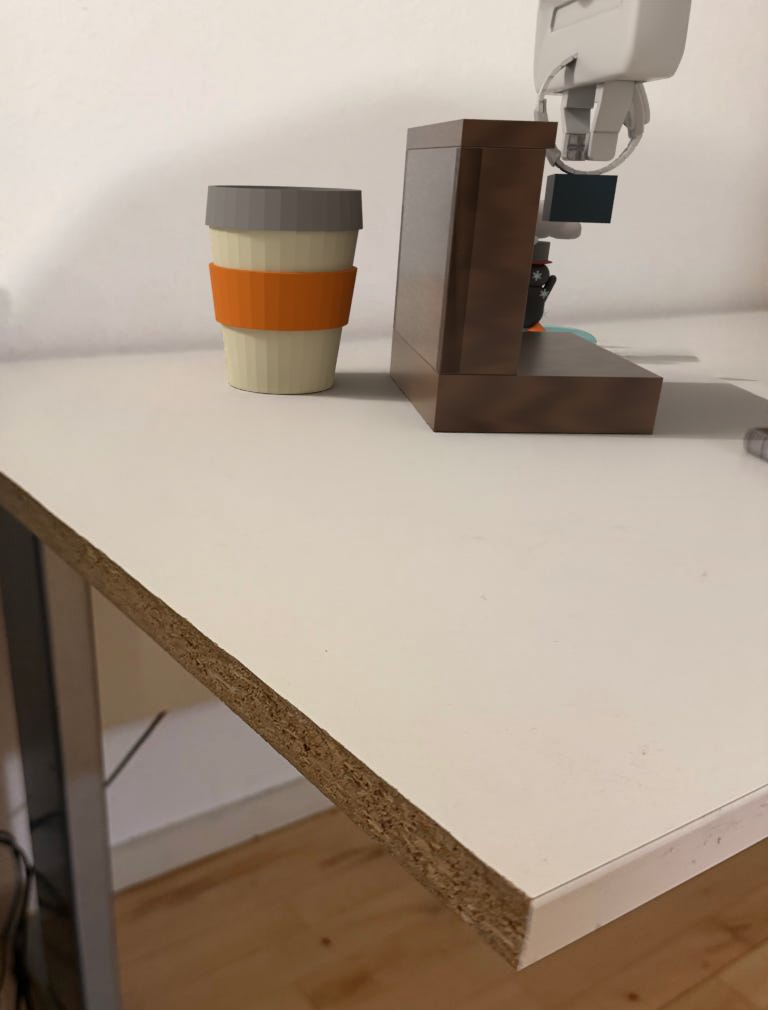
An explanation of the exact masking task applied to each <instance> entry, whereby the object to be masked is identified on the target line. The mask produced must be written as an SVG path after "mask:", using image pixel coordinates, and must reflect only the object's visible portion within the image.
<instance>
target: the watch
mask: <svg viewBox="0 0 768 1010" xmlns="http://www.w3.org/2000/svg"><path fill="white" fill-rule="evenodd" d="M577 56H578V52H576V53H574V54H573V55H571V56H569V57H567V58H566V59H564V60H563V61H562V62H561V63H560V64H559V65H557V66H556V67H555V68H554V70H553V71H552V72H551V73H550V74H549V76H548V77H547V78H546V80H545V81H544V83H543V85H542V87H541V89H540V92H539V94H537V97H536V104H535V108H534V110H533V118H534V120H533V121H549V115H548V112H547V111H548V109H547V98H545V96H546V95H545V92H546V89H547V87H548V85H549V83H550V82H551V80H552V79H553V77H554V76H555V75H556V74H557V73H558V72H559V71H560V70H561V69H562V68H564V67H565V66H567V65H568V64H569V63H571V62H572V61H573V60H575V59H576V58H577ZM650 122H651V109H650V104H649V99H648V95H647V92H646V88H645V86H644V83H640V84H635V85H634V91H633V97H632V103H631V106H630V108H629V111H628V113H627V115H626V118H625V120H624V122H623V125H624V127H626V129H627V137H628V139H629V142H628V143H627V146H626V147H625V148H624V149H623V150H622V152H621V153H620V154H619V156H618V157H617V158H615V159H614V160H613V161H611V162H610V163H609V164H608V165H606V166H604V167H602V168H599V169H596V170H589V171H587V170H580V169H575V168H574V167H571V166H569V165H567V164H565V162H564V161H563V160H562V159H561V149H559V148H558V146H557V144H556V143H555V149H546V157H545V159H546V160H547V162H548V164H549V165H550V166H551V167H552V168H555V167H556V168H557V169H559V170H560V172H563V173H552V174H549V175H547V177H546V183H545V192H544V198H543V200H544V206H543V214H542V221H549V222H579V223H580V224H581V223H582V224H583V223H584V224H611V222H612V216H613V211H614V210H613V209H614V204H615V198H616V191H617V184H618V180H619V179H618V178H619V175H618V174H617V175H616V174H606V173H610V171H612V170H614V169H616V168H617V167H619V166H621V165H622V164H623V163H624V162H625V161H626V160H627V159H628V158H629V157H630V156H631V155H632V154H633V152H634V151H635V150H636V147H638V145H639V143H640V141H642V138H643V135H644V132H645V126H646V125H647V124H649V123H650Z"/></svg>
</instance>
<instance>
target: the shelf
mask: <svg viewBox="0 0 768 1010" xmlns="http://www.w3.org/2000/svg"><path fill="white" fill-rule="evenodd" d="M558 127H559V121H549V120H548V121H535V120H517V119H516V120H515V119H489V118H488V119H487V118H486V119H485V118H484V119H483V118H459V119H453V120H449V121H443V122H437V123H436V122H435V123H432V124H431V123H430V124H425V125H420V126H413V127H408V128H407V129H406V143H405V144H406V145H405V158H404V171H403V172H404V173H403V186H402V199H401V212H400V213H401V214H400V227H399V240H398V242H399V243H398V254H397V255H398V256H397V268H396V269H397V271H396V283H395V298H394V311H393V324H392V336H391V350H390V364H389V377H391V378H392V380H393V381H394V383H395V384H396V385H397V386H398V388H399V389H400V390H401V392H402V394H404V395H405V396H406V398H407V399H408V400H409V402H410V403H411V404H412V406H413V407H414V408H415V410H416V412H418V414H419V415H420V416H421V417H422V418H423V420H424V422H426V424H427V425H428V426H429V428H430V429H431V430H432V432H434V433H435V432H436V433H438V432H439V433H441V432H442V433H446V432H447V433H519V434H521V433H524V434H525V433H531V434H533V433H535V434H613V435H614V434H615V435H616V434H619V435H620V434H622V435H626V434H627V435H628V434H629V435H630V434H631V435H652V434H653V433H654V428H655V423H656V418H657V412H658V408H659V403H660V398H661V392H662V388H663V383H664V377H663V376H660V375H659V374H657V373H655V372H653V371H651V370H648V369H646V368H645V367H643V366H640V365H638V364H636V363H634V362H632V361H630V360H629V359H626V358H624V357H622V356H620V355H618V354H616V353H614V352H612V351H610V350H608V349H606V348H604V347H602V346H600V345H599V344H597V343H596V344H594V343H592V342H590V341H588V340H586V339H584V338H582V337H580V336H578V335H576V334H574V333H572V332H546V331H523V324H524V316H525V309H526V301H527V294H528V286H529V279H530V271H531V263H532V256H533V248H534V241H535V233H536V226H537V218H538V210H539V203H540V200H541V194H542V187H543V179H544V171H545V166H546V165H545V164H546V149H555V144H556V143H557V135H558Z"/></svg>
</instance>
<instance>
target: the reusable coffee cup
mask: <svg viewBox="0 0 768 1010" xmlns="http://www.w3.org/2000/svg"><path fill="white" fill-rule="evenodd" d="M363 216H364V215H363V194H362V189H357V188H341V187H340V188H339V187H338V188H337V187H320V186H319V187H318V186H317V187H315V186H290V185H289V186H286V185H285V186H282V185H248V184H247V185H243V184H241V185H239V184H238V185H235V184H230V185H229V184H226V185H225V184H224V185H223V184H221V185H220V184H218V185H216V184H214V185H208V186H207V196H206V209H205V219H204V220H205V221H204V225H205V226H208V228H209V236H210V244H211V252H212V261H211V262H210V263H208V269H209V270H208V271H209V279H210V286H211V293H212V294H211V295H212V301H213V310H214V319H215V321H216V322H217V323H219V324H220V326H221V333H222V341H223V349H224V358H225V364H226V375H227V382H228V384H229V385H230V386H232V387H233V388H237V389H239V390H243V391H247V392H253V393H261V394H272V395H301V394H302V395H303V394H311V393H318V392H323V391H326V390H329V389H331V388H333V386H334V380H335V376H336V375H335V374H336V367H337V362H338V356H339V351H340V345H341V340H342V333H343V327H346V326H347V325H348V324H349V322H350V316H351V315H350V314H351V309H352V305H353V304H352V303H353V298H354V292H355V288H356V287H355V286H356V280H357V276H358V275H357V274H358V269H359V268H358V267H357V266H354V261H355V256H356V250H357V244H358V238H359V232H360V230H363V229H364V218H363Z"/></svg>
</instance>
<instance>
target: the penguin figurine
mask: <svg viewBox="0 0 768 1010" xmlns="http://www.w3.org/2000/svg"><path fill="white" fill-rule="evenodd" d="M543 206H544V199H540V203H539V210H538V218H537V226H536V233H535V241H534V248H533V256H532V263H531V271H530V279H529V286H528V294H527V301H526V309H525V316H524V324H523V331H546V332H572V333H574V334H576V335H578V336H580V337H582V338H584V339H586V340H588V341H590V342H592V343H594V344H596V345H597V343H598V340H597V339H596V337H595V335H593V334H592V333H590V332H588V331H586V330H582V329H579V328H575V327H570V326H562V325H549V324H541V323H540V321H541V320H542V319H544V317H545V318H547V317H548V315H547V314H548V311H545V304H546V302H547V300H548V298H549V296H550V294H551V292H552V290H553V288H554V287H555V285H556V282H557V280H558V279H557V276H556V275H555V274H550V268H549V267H550V266H551V264H553V261H552V260H549V257H550V249H551V241H546V240H541V239H546V238H549V237H550V238H553V239H556V240H576V239H578V238H580V237H581V235H582V230H583V229H582V224H581V223H579V222H549V221H542V214H543Z"/></svg>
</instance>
